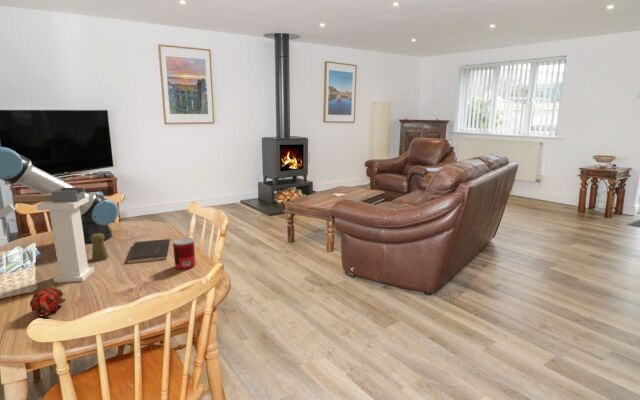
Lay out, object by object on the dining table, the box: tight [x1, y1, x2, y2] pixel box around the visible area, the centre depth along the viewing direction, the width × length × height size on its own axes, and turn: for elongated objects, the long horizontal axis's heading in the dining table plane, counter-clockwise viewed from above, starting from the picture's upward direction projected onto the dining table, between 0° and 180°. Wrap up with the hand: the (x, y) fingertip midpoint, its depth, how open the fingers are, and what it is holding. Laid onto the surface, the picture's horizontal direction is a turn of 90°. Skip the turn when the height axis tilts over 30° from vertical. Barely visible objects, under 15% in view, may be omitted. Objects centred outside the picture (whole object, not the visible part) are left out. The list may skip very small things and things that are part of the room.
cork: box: [90, 233, 109, 262], centre depth 167 cm, size 6×6×11 cm
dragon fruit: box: [29, 286, 66, 319], centre depth 123 cm, size 8×8×12 cm
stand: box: [36, 196, 95, 283], centre depth 147 cm, size 12×12×30 cm
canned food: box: [172, 237, 196, 271], centre depth 159 cm, size 8×8×11 cm
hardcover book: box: [126, 238, 171, 264], centre depth 176 cm, size 16×23×2 cm
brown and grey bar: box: [12, 186, 86, 203], centre depth 142 cm, size 22×7×4 cm, turn 99°
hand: (0, 211), depth 141 cm, fingers open, 13 cm apart
